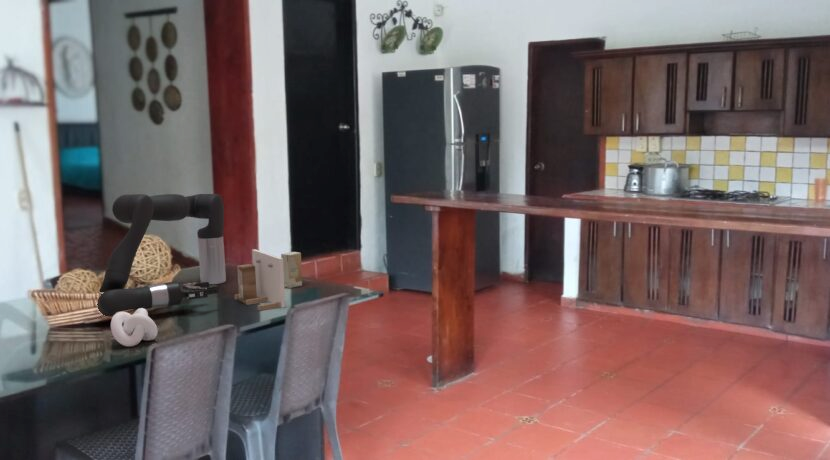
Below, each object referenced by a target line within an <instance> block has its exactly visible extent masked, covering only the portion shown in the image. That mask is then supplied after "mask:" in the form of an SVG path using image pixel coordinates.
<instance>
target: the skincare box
mask: <svg viewBox="0 0 830 460" xmlns="http://www.w3.org/2000/svg"><path fill="white" fill-rule="evenodd" d="M280 256H281V257H280V258H283V271H284V288H288V289H292V288H296V287H301V286H303V275H302V274H303V271H302V253H301V252H298V251H291V252H285V253H281V255H280Z"/></svg>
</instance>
